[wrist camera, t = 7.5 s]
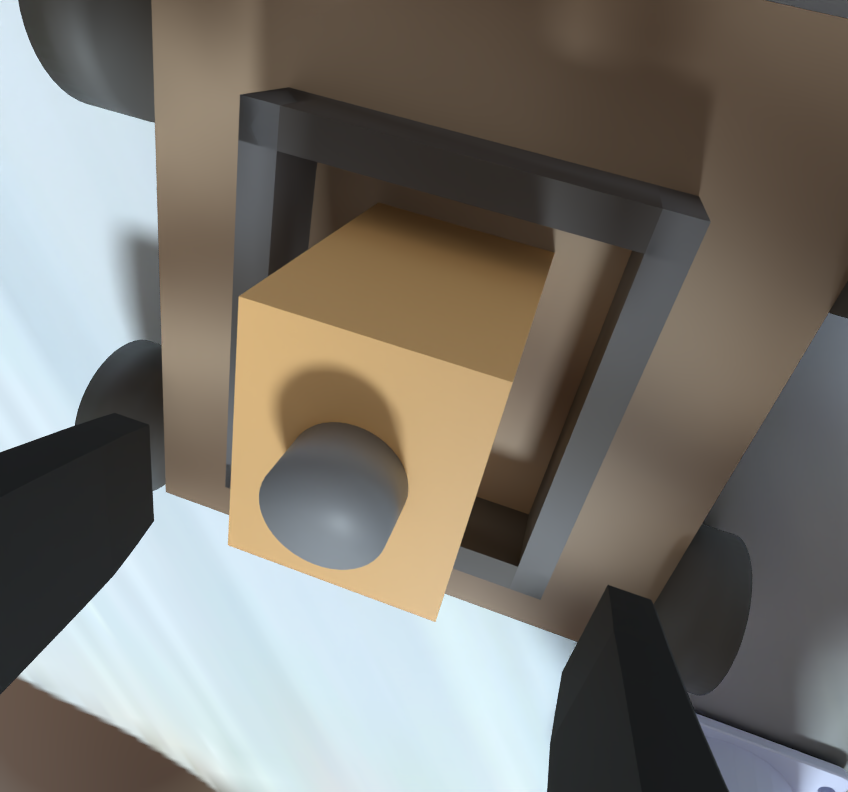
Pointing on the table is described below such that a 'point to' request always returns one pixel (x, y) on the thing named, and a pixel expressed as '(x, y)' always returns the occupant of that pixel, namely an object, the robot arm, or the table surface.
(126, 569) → the table surface
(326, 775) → the table surface
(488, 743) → the table surface
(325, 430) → the tan block with knob
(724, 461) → the chassis
